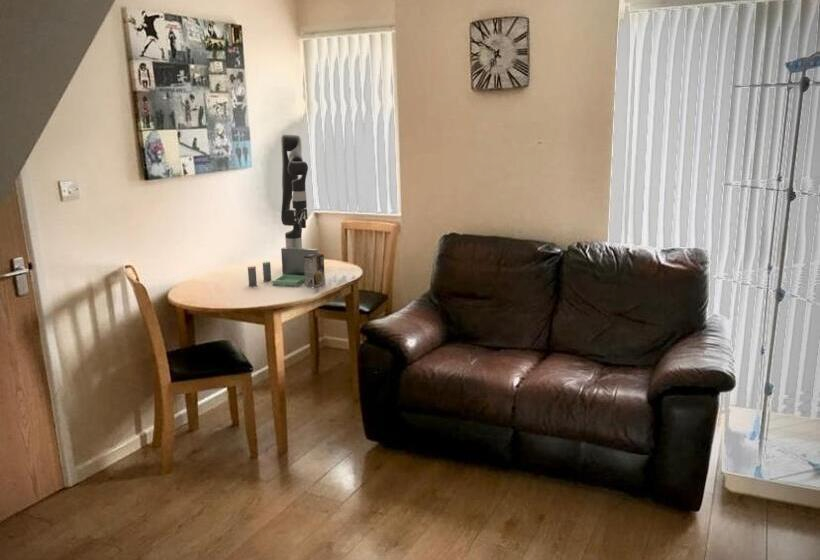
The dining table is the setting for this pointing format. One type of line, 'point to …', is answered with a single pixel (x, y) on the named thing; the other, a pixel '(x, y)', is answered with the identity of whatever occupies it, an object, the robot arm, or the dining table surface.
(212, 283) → the dining table surface
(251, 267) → the terracotta-capped canister
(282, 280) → the green tray
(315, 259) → the coffee box
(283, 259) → the label unit
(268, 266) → the green-capped canister
